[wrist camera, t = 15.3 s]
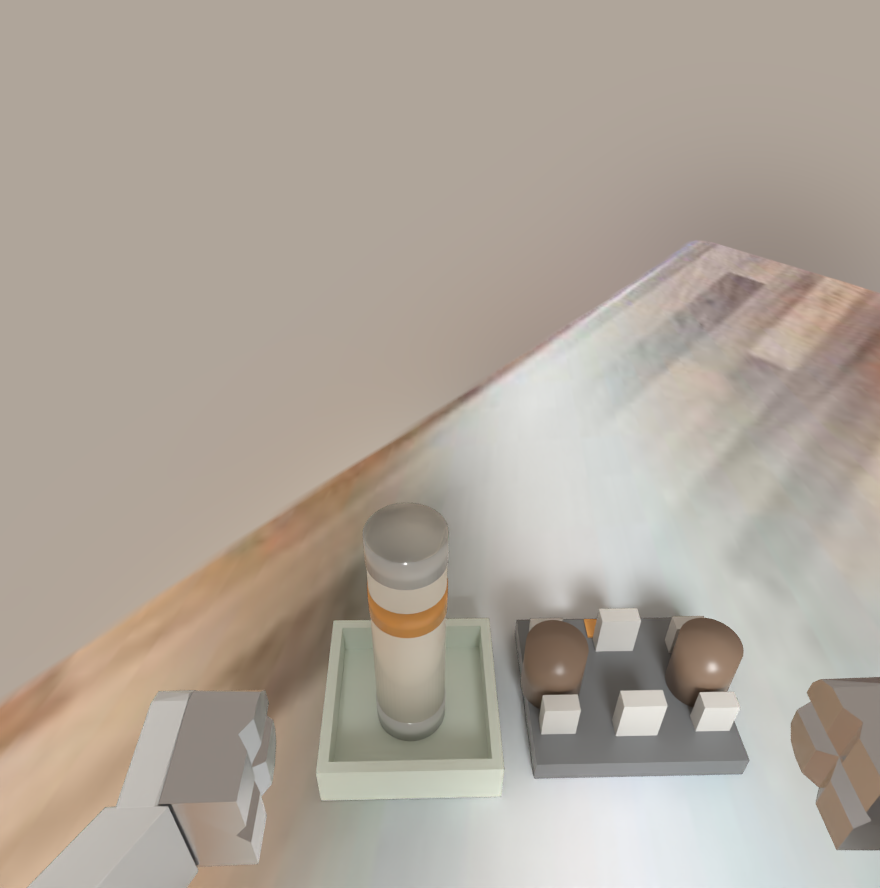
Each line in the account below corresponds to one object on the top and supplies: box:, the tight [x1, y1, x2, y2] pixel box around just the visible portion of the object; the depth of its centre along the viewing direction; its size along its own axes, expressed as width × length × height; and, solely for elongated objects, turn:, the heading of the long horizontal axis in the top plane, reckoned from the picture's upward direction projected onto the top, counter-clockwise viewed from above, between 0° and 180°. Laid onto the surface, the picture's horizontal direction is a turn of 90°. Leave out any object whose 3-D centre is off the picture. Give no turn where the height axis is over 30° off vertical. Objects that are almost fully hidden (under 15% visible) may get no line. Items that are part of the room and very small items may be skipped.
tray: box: [316, 618, 504, 801], centre depth 42 cm, size 10×10×3 cm
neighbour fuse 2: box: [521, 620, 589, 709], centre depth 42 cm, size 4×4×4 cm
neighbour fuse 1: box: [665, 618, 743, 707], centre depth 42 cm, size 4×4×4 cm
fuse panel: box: [515, 608, 749, 778], centre depth 43 cm, size 12×10×4 cm
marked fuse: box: [363, 503, 449, 741], centre depth 38 cm, size 4×4×15 cm
